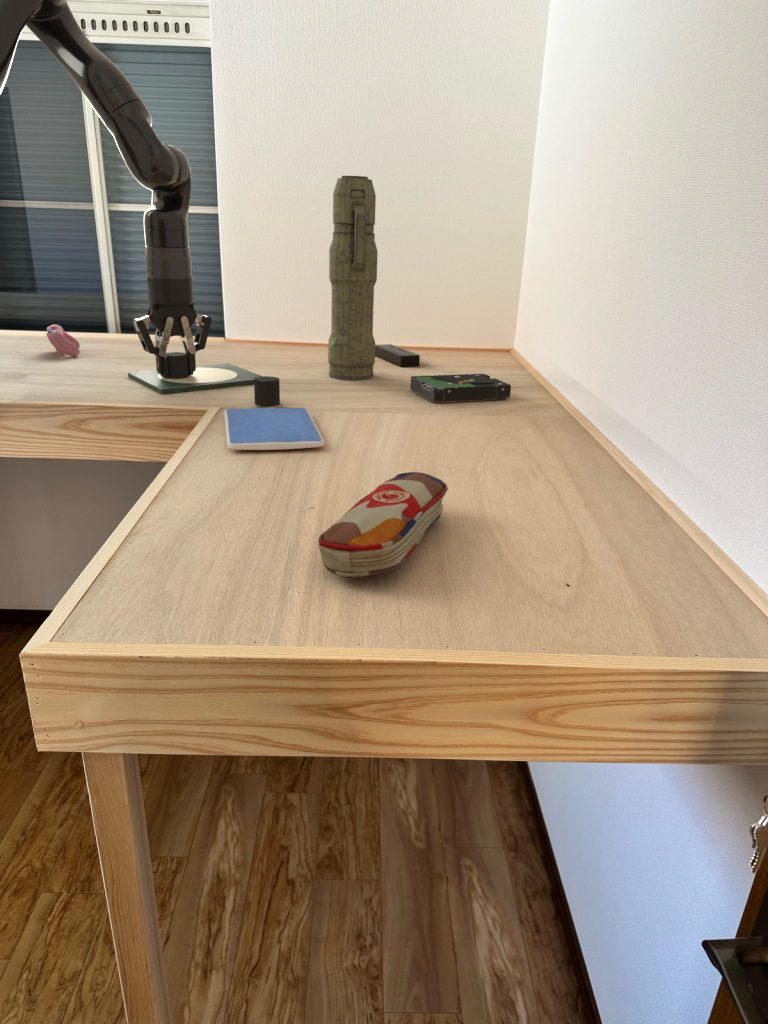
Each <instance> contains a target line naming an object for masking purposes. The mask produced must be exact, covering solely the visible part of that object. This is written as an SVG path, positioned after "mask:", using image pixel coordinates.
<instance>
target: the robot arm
mask: <svg viewBox="0 0 768 1024" xmlns="http://www.w3.org/2000/svg"><path fill="white" fill-rule="evenodd" d="M25 26H26V27H27V29H29V31H31V32H32V33H33V35H34V36H35V37H36V38H37V39H38V40H39V41H40V42H41V43H42V44H43V46H45V48H46V49H47V50H48V51H49V52H50V53H51V54H52V55H53V57H54V58H55V59H56V60H57V62H58V63H59V64H60V65H61V67H63V69H64V70H65V71H66V72H67V74H68V75H69V76H70V78H71V79H72V81H74V83H75V85H77V87H78V88H79V90H80V91H81V92H82V94H83V96H84V97H85V98H86V100H87V101H88V103H89V104H90V105H91V107H92V109H93V110H94V112H95V113H96V114H97V116H98V117H99V118H100V120H101V122H102V123H103V124H104V126H105V127H106V128H107V130H108V131H109V132H110V134H111V135H112V136H113V138H114V141H115V143H116V147H117V148H118V150H119V152H120V154H121V156H122V159H123V161H124V163H125V165H126V167H127V168H128V170H129V172H130V174H131V175H132V177H134V179H135V180H136V181H137V182H138V183H139V184H140V185H141V186H143V188H146V189H147V190H150V191H151V206H150V207H149V208H148V209H147V210H146V211H144V214H143V231H144V243H145V259H144V260H145V261H144V262H145V264H144V265H145V274H146V275H145V276H146V288H147V297H148V299H147V300H148V306H149V307H148V311H147V313H146V315H145V316H142V317H140V318H137V317H136V318H133V319H132V320H131V321H132V322H131V323H132V325H133V327H134V330H135V332H136V334H137V337H138V339H139V341H140V344H141V346H142V349H143V351H144V352H146V353H149V354H151V355H154V356H155V364H156V370H157V372H158V374H160V375H161V377H163V378H168V377H169V374H168V361H167V357H166V356H165V355H166V353H167V349H168V344H169V343H170V340H171V338H173V337H175V336H178V339H179V340H180V342H181V345H182V347H183V349H184V353H186V354H187V359H188V374H189V375H193V372H194V371H195V370H196V366H197V364H196V362H197V361H196V353H197V352H199V351H201V350H202V351H203V350H205V349H206V345H207V341H208V337H209V332H210V329H211V324H212V321H213V320H212V317H211V316H209V315H206V314H200V313H197V310H196V309H195V304H194V303H195V294H194V279H193V274H194V270H193V262H192V256H191V251H190V250H191V249H190V239H189V238H190V237H189V226H188V216H189V210H190V203H191V197H192V196H191V194H192V186H193V185H192V182H193V181H192V180H193V179H192V169H191V165H190V162H189V159H188V157H187V156H186V155H185V153H184V151H182V150H181V149H180V148H178V147H176V146H173V145H170V144H164V143H163V142H162V141H161V140H160V138H159V137H158V135H157V134H156V132H155V131H154V128H153V127H152V124H153V119H152V115H151V113H150V111H149V109H148V107H147V106H146V104H145V103H144V101H143V100H142V98H141V97H140V95H139V93H137V91H136V90H135V88H134V86H133V85H132V84H131V82H130V80H128V78H127V76H126V75H125V74H124V73H123V72H122V71H121V69H120V68H119V67H118V66H117V65H116V64H115V63H114V62H113V61H112V60H111V59H110V58H108V57H107V56H106V55H105V54H104V53H103V52H102V51H100V50H99V49H98V48H97V47H96V46H95V45H94V44H93V42H91V40H89V37H87V35H86V34H85V32H84V31H83V30H82V28H81V27H80V25H79V23H78V22H77V20H76V18H75V16H74V14H73V12H72V10H71V8H70V6H69V4H68V2H67V0H0V95H1V94H2V92H3V89H4V87H5V86H6V85H5V84H6V83H7V79H8V77H9V73H10V70H11V67H12V63H13V60H14V57H15V53H16V49H17V46H18V42H19V40H20V37H21V35H22V32H23V30H24V28H25ZM150 323H151V325H152V326H153V327H154V328H155V335H154V340H155V342H154V343H153V340H152V338H151V335H150V332H149V330H150ZM194 323H195V325H196V331H195V334H194V337H193V333H192V330H191V328H192V326H193V325H194Z"/></svg>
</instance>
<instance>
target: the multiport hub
mask: <svg viewBox="0 0 768 1024" xmlns="http://www.w3.org/2000/svg"><path fill="white" fill-rule="evenodd" d="M376 357H377V359H378V358H379V359H381V360H382V361H385V362H388V363H390V364H393V365H395V366H397V367H399V368H408V367H409V368H411V367H412V368H415V367H420V363H421V362H420V361H421V360H420V359H421V355H420V354H418V353H415V352H413V351H409V350H408V349H404V348H402V347H400V346H397V345H394V344H390V343H387V344H386V343H385V344H375V358H376Z"/></svg>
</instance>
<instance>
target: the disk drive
mask: <svg viewBox="0 0 768 1024" xmlns="http://www.w3.org/2000/svg"><path fill="white" fill-rule="evenodd" d="M409 389H410V390H411V391H412V392H413V393H414V394H417V395H419V396H420V397H422V398H424V399H425V400H428V401H429V402H432V403H459V402H482V401H496V400H498V401H499V400H506V399H510V398H511V391H512V385H511V384H510V383H507V382H505V381H502V380H500V379H498V378H495V377H494V378H491V376H490V375H488V374H486V373H471V374H470V373H463V374H438V375H437V374H436V375H435V374H433V375H414V376H410V387H409Z"/></svg>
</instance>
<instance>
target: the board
mask: <svg viewBox="0 0 768 1024" xmlns="http://www.w3.org/2000/svg"><path fill="white" fill-rule="evenodd" d="M262 376H263V375H261V374H258V373H256V372H253V371H250V370H247V369H244V368H242V367H239V366H237V365H234V364H231V363H219V364H210V365H209V364H208V365H207V364H206V365H198V366H197V365H196V370H195V371H194V372H193V375H189V376H188V377H187V378H182V379H170V378H163V377H161V375H160V374H158V372H157V369H152V370H142V371H140V370H139V371H130V372H127V377H128V378H129V379H131V380H133V381H135V382H138V383H139V384H141V385H143V386H145V387H146V388H149V389H150V390H153V391H155V392H157V393H158V394H161V395H167V394H168V393H169V394H176V393H177V392H178V393H185V392H186V391H187V392H194V391H193V390H196V391H203V390H204V389H205V390H213V389H221V388H230V387H239V386H248V385H254V378H256V377H262ZM187 392H186V393H187Z"/></svg>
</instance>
